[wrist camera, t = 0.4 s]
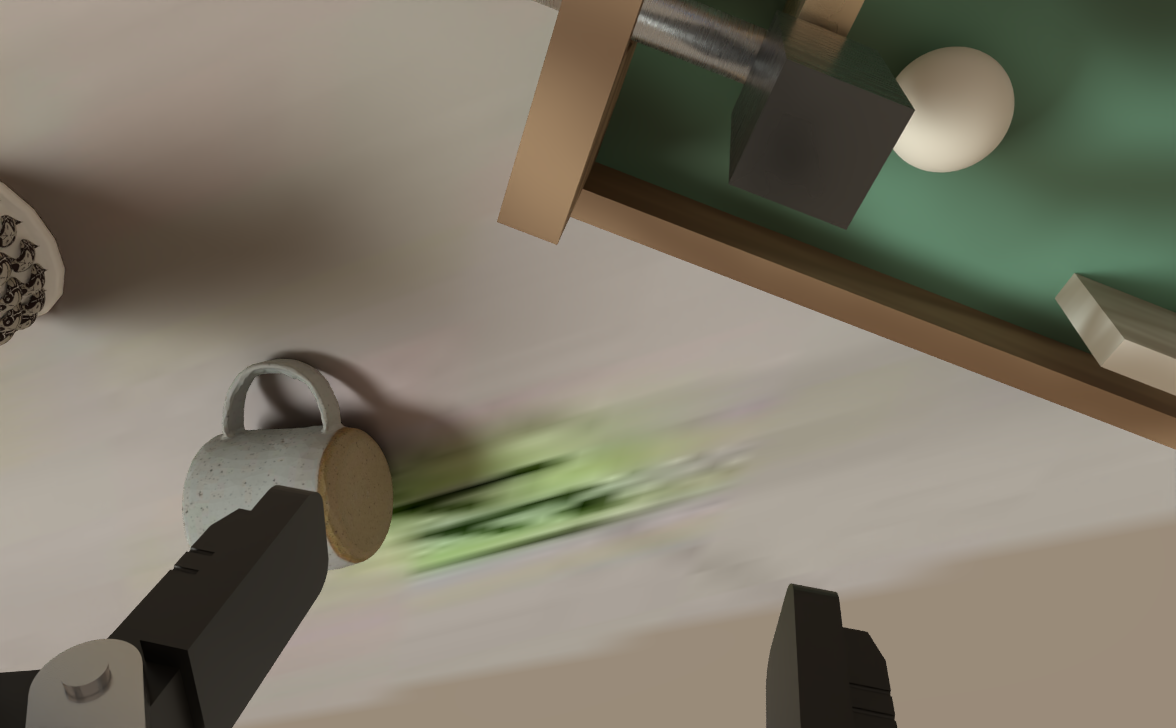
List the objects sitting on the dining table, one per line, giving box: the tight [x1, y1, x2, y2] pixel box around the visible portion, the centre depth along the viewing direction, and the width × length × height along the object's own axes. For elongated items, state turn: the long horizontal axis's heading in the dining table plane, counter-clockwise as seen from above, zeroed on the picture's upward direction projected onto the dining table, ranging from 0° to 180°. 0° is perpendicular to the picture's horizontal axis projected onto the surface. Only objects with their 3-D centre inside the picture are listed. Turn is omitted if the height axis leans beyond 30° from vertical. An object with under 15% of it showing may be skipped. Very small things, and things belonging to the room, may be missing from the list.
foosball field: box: [497, 0, 1176, 449], centre depth 26 cm, size 16×28×9 cm, turn 71°
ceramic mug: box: [182, 359, 393, 570], centre depth 41 cm, size 11×8×8 cm
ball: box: [893, 47, 1014, 172], centre depth 27 cm, size 4×4×4 cm
